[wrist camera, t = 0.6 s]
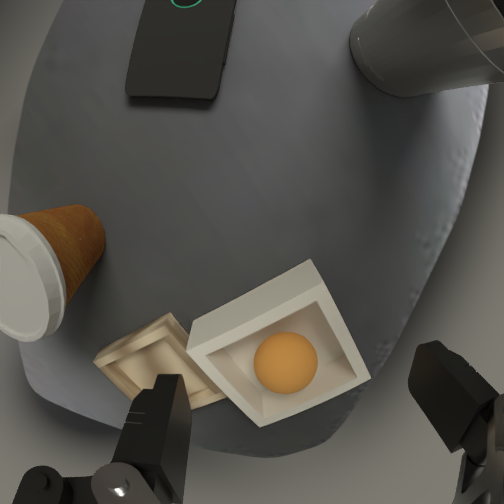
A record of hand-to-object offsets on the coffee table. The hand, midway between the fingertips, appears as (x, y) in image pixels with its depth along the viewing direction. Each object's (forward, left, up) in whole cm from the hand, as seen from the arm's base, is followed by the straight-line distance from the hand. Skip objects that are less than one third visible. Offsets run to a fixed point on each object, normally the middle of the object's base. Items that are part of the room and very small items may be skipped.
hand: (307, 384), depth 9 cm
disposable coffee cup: (+16, -9, -19) cm, 26 cm away
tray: (+18, +8, -18) cm, 27 cm away
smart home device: (-5, -22, -19) cm, 30 cm away
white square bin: (+4, +11, -18) cm, 22 cm away
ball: (+4, +11, -14) cm, 19 cm away
